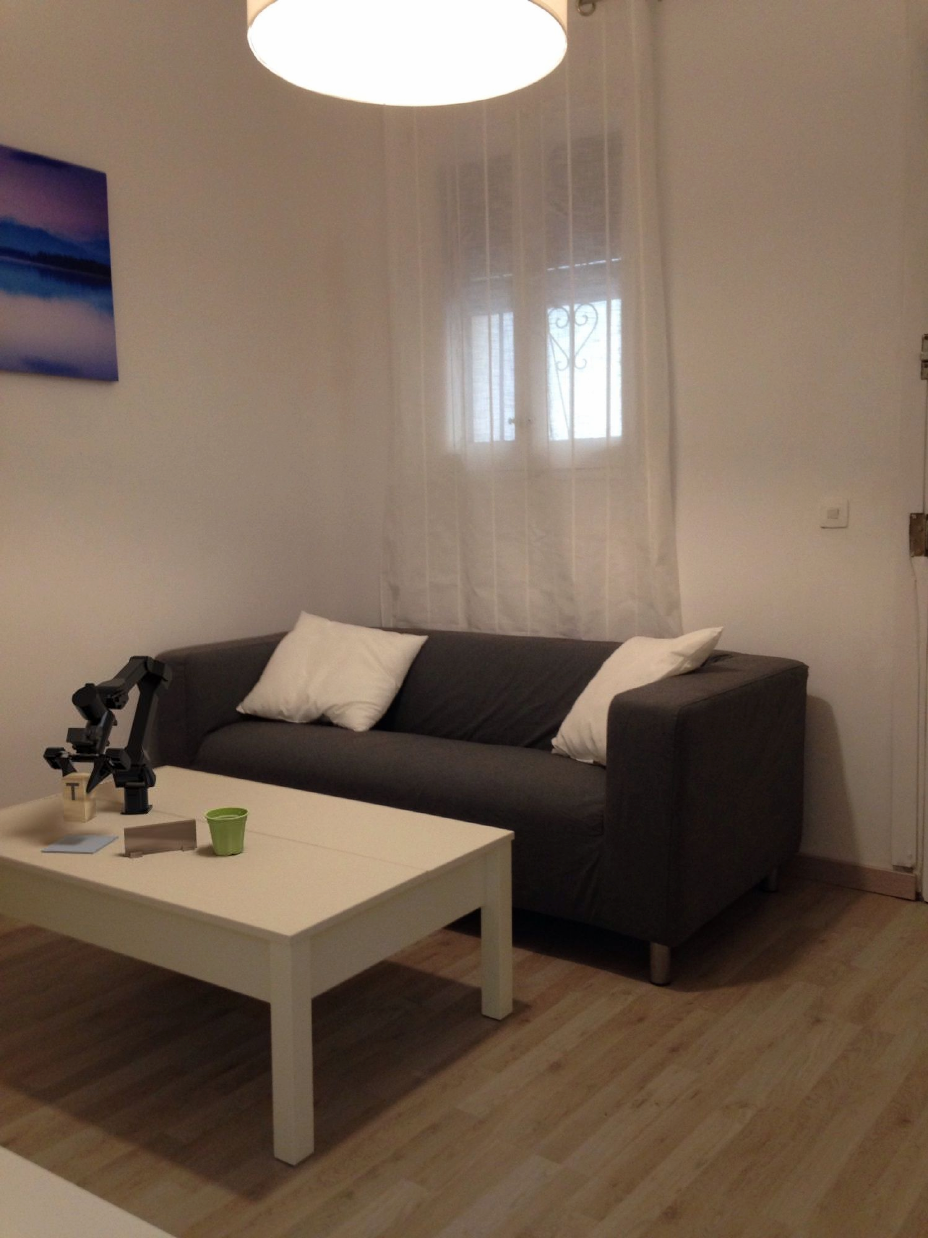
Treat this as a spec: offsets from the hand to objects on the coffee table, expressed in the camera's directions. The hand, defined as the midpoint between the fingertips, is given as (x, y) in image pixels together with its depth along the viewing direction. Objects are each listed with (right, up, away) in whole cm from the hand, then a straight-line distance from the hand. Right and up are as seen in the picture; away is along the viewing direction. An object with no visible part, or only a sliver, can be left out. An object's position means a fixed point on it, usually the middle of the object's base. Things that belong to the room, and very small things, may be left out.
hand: (75, 791), depth 245 cm
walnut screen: (+20, -12, -3) cm, 23 cm away
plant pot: (+34, -13, -4) cm, 37 cm away
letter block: (0, -6, +2) cm, 7 cm away
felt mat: (0, -12, +3) cm, 12 cm away
